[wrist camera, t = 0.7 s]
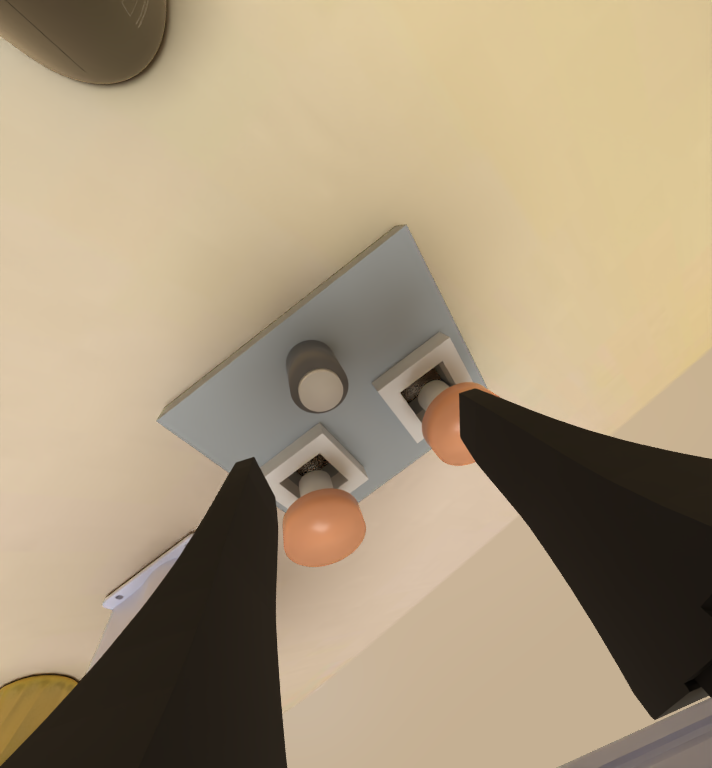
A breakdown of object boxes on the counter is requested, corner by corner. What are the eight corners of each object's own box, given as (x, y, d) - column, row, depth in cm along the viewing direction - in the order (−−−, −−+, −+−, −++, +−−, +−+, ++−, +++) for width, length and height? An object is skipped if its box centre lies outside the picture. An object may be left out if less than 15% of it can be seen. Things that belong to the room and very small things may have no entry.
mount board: (312, 518, 26) (317, 548, 23) (164, 407, 19) (148, 433, 16) (481, 393, 25) (506, 410, 23) (395, 225, 18) (417, 223, 15)
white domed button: (307, 394, 19) (316, 428, 16) (275, 360, 18) (277, 390, 14) (344, 366, 19) (361, 394, 15) (315, 329, 18) (327, 351, 14)
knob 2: (420, 435, 21) (454, 478, 17) (388, 392, 19) (419, 431, 15) (473, 396, 21) (519, 431, 17) (447, 348, 19) (493, 376, 15)
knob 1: (309, 517, 22) (318, 577, 18) (265, 485, 20) (265, 544, 16) (360, 480, 22) (380, 532, 18) (321, 443, 19) (335, 493, 15)
